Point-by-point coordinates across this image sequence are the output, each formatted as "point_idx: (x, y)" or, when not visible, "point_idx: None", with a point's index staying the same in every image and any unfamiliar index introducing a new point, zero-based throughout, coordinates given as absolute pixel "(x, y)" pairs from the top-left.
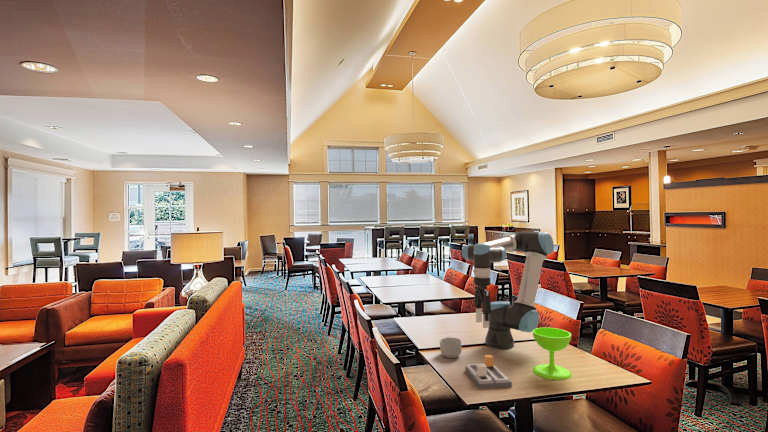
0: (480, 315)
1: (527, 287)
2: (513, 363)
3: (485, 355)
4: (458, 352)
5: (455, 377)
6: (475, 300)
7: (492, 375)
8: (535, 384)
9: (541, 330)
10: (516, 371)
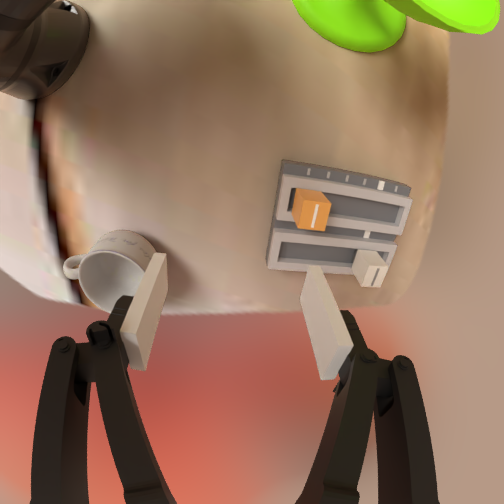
0: (153, 297)
1: None
2: (239, 60)
3: (303, 225)
4: (153, 252)
5: (297, 295)
6: (86, 422)
7: (376, 230)
8: (412, 109)
9: None
10: (315, 94)
